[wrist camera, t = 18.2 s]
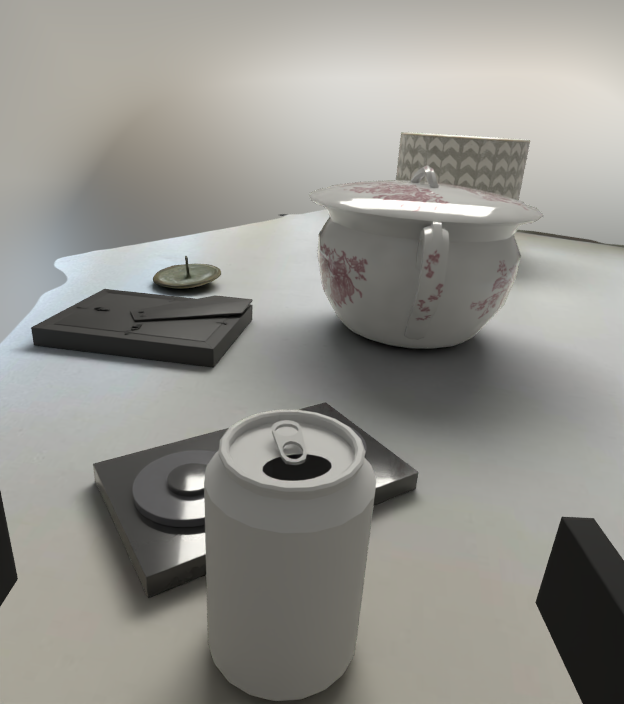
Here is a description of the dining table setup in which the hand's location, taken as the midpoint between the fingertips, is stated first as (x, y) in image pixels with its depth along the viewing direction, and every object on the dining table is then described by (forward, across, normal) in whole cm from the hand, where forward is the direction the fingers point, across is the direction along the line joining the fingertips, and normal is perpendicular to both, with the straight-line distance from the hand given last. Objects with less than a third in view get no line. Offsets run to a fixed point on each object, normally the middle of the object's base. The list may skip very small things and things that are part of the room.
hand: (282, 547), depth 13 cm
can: (+10, 0, -15) cm, 18 cm away
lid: (+72, -18, -16) cm, 76 cm away
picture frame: (+52, -18, -16) cm, 57 cm away
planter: (+106, +31, -16) cm, 112 cm away
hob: (+22, -2, -15) cm, 27 cm away
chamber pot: (+57, +14, -15) cm, 60 cm away
